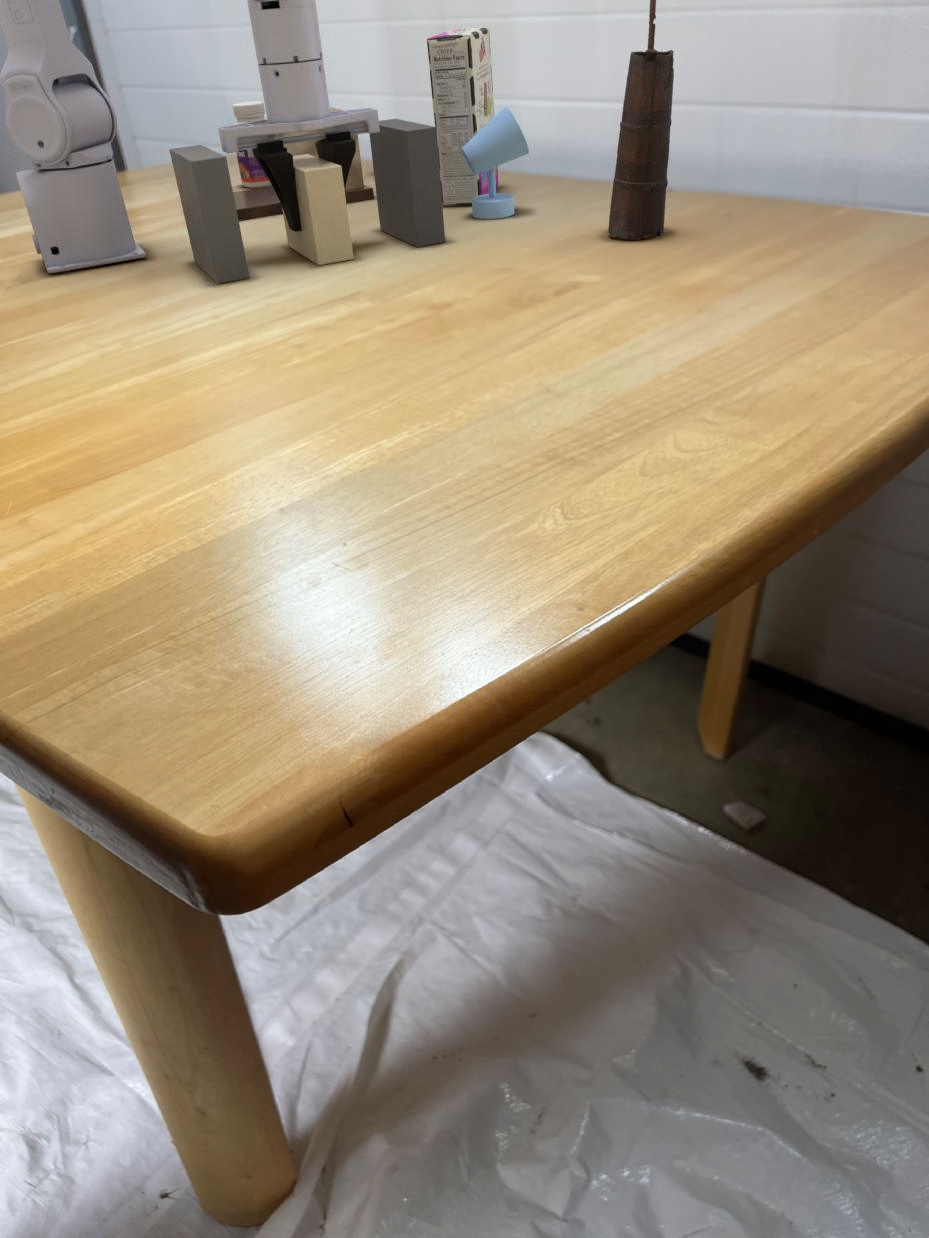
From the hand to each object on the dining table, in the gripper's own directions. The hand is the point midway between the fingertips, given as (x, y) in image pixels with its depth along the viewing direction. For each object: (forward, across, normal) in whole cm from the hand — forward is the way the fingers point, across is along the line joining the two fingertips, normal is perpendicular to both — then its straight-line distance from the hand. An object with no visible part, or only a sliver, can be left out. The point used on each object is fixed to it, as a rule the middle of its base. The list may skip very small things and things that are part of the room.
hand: (315, 226), depth 89 cm
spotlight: (+3, +21, +3) cm, 21 cm away
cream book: (+2, 0, 0) cm, 2 cm away
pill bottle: (+3, +6, +44) cm, 44 cm away
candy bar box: (+3, +23, +14) cm, 27 cm away
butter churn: (+3, +26, -16) cm, 31 cm away
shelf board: (+2, +4, +28) cm, 28 cm away
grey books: (+2, 0, 0) cm, 2 cm away
